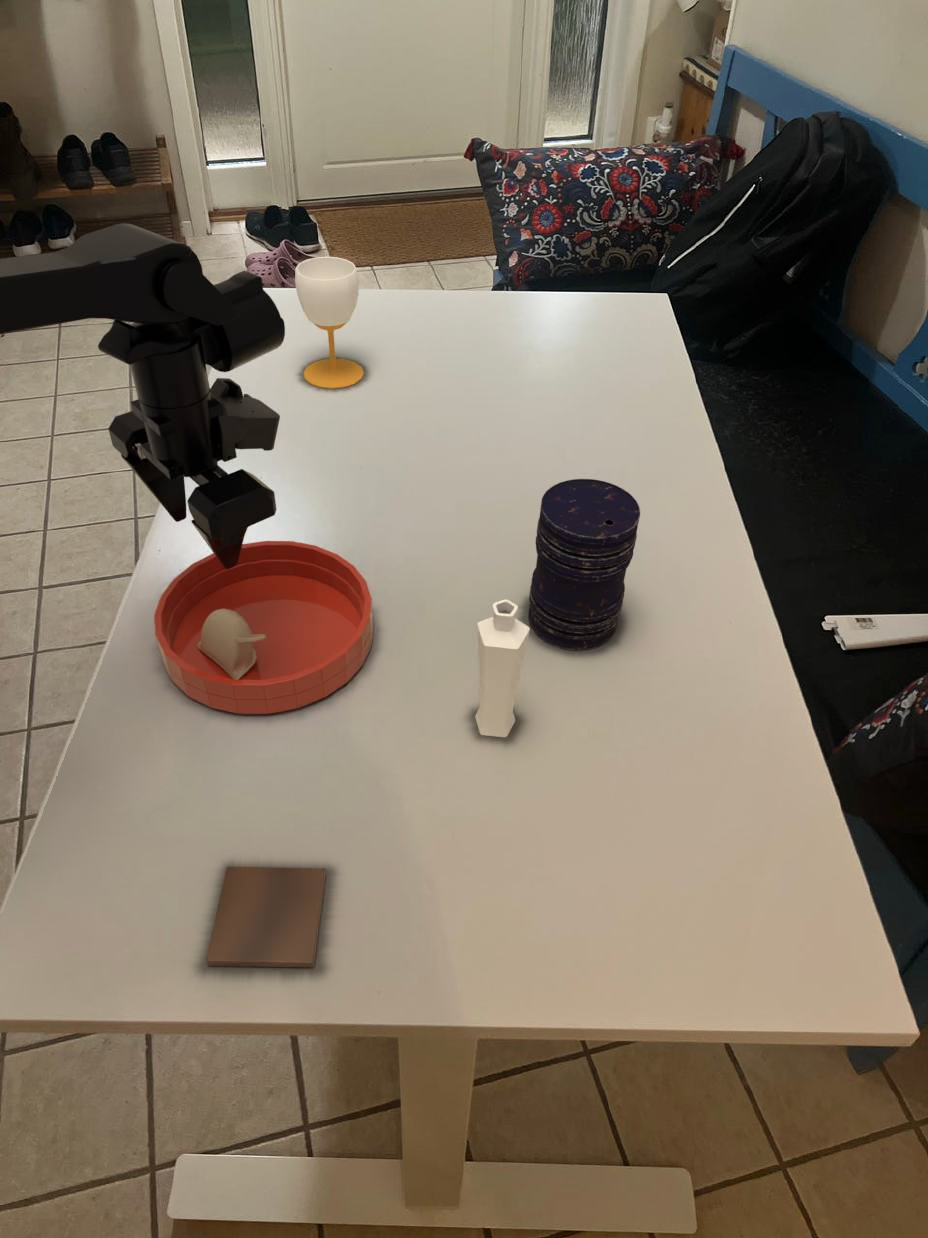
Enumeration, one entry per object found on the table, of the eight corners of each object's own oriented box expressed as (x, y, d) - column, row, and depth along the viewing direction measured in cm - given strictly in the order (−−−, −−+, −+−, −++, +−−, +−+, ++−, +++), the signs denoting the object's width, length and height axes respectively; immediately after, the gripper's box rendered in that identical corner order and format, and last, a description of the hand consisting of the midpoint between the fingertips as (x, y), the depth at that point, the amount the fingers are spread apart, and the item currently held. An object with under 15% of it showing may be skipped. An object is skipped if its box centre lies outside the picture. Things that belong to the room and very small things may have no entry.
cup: (335, 354, 139) (327, 250, 128) (376, 373, 135) (372, 268, 124) (290, 374, 134) (279, 267, 123) (332, 395, 129) (324, 287, 118)
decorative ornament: (229, 627, 93) (221, 589, 89) (277, 669, 89) (271, 631, 85) (195, 646, 91) (186, 608, 87) (243, 690, 87) (235, 651, 83)
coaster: (207, 966, 67) (205, 961, 66) (228, 871, 73) (226, 866, 72) (313, 968, 67) (312, 963, 67) (325, 873, 73) (325, 868, 72)
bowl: (366, 717, 85) (364, 685, 82) (140, 716, 84) (130, 684, 81) (377, 573, 101) (376, 542, 98) (187, 570, 100) (180, 539, 97)
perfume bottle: (524, 737, 84) (539, 623, 74) (479, 744, 83) (487, 629, 73) (513, 701, 87) (525, 587, 77) (469, 707, 87) (476, 592, 76)
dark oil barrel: (509, 607, 97) (519, 495, 87) (579, 578, 101) (597, 467, 91) (564, 664, 91) (582, 550, 81) (636, 630, 95) (663, 518, 85)
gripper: (322, 406, 71) (334, 557, 82) (203, 325, 81) (228, 468, 92) (198, 453, 66) (228, 608, 76) (87, 359, 76) (127, 508, 86)
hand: (205, 542), depth 83 cm, fingers open, 9 cm apart
